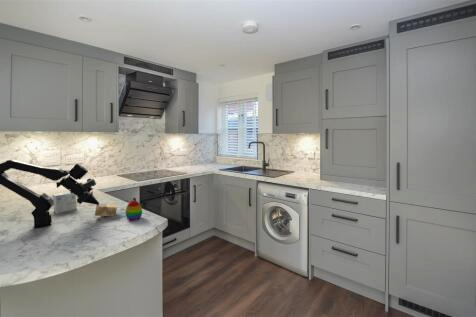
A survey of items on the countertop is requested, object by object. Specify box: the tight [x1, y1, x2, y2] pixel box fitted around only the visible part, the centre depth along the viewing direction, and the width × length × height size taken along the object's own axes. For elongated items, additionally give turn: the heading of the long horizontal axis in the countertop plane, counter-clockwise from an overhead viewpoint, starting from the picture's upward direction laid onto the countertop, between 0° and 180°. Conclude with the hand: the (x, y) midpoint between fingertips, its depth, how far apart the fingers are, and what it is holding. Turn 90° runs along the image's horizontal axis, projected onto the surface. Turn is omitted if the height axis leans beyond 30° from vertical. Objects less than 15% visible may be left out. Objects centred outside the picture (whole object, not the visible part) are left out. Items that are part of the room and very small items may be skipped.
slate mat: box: [99, 210, 127, 221], centre depth 139 cm, size 12×10×2 cm
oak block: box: [94, 203, 118, 217], centre depth 138 cm, size 5×6×10 cm
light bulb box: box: [51, 191, 78, 214], centre depth 151 cm, size 11×7×11 cm, turn 141°
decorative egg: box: [125, 200, 143, 221], centre depth 133 cm, size 8×8×10 cm
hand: (98, 204), depth 136 cm, fingers closed
